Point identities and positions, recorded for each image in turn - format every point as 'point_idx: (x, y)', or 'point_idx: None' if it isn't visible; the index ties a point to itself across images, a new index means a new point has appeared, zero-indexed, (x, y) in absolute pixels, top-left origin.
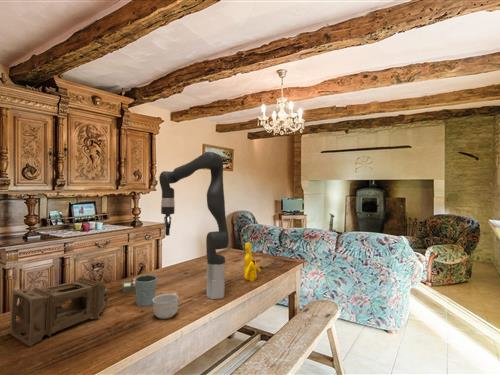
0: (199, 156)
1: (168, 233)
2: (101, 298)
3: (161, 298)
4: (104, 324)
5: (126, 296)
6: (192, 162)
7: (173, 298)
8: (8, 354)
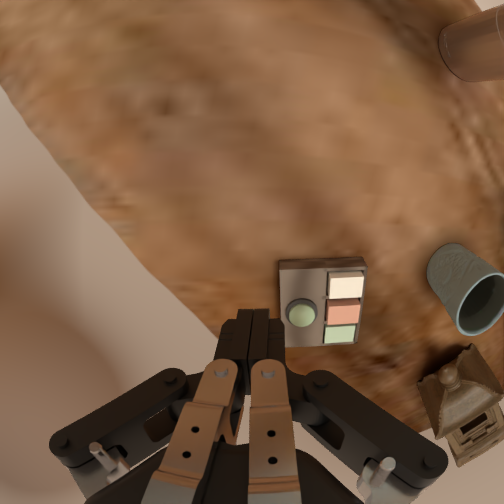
0: None
1: (284, 332)
2: (474, 369)
3: None
4: (493, 329)
5: (382, 318)
6: None
7: None
8: None
